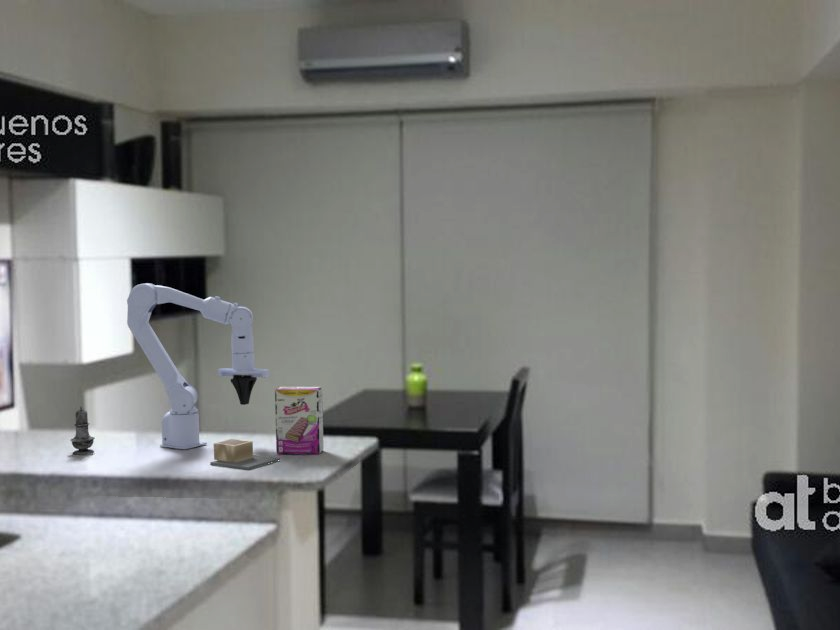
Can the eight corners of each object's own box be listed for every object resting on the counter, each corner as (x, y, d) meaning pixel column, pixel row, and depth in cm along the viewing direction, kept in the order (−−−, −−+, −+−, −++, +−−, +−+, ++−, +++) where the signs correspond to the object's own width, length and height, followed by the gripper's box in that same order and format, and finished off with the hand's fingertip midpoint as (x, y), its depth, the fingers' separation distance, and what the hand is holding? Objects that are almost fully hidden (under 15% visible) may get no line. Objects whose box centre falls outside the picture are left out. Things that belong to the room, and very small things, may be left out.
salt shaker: (99, 452, 242) (97, 405, 241) (77, 456, 238) (75, 408, 237) (88, 449, 246) (86, 403, 245) (66, 453, 242) (64, 406, 241)
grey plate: (210, 464, 224) (210, 462, 224) (242, 455, 233) (242, 453, 233) (248, 469, 218) (248, 467, 218) (279, 460, 227) (279, 458, 227)
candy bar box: (275, 454, 234) (273, 389, 233) (280, 450, 239) (278, 386, 238) (320, 454, 233) (318, 388, 232) (324, 450, 238) (322, 385, 237)
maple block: (213, 443, 226) (235, 445, 223) (231, 438, 232) (252, 441, 228) (214, 459, 227) (235, 462, 223) (231, 455, 232) (253, 457, 228)
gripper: (210, 353, 247) (212, 405, 248) (258, 354, 241) (260, 407, 242) (226, 351, 254) (228, 401, 254) (272, 352, 248) (274, 403, 249)
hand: (244, 404), depth 249 cm, fingers closed
